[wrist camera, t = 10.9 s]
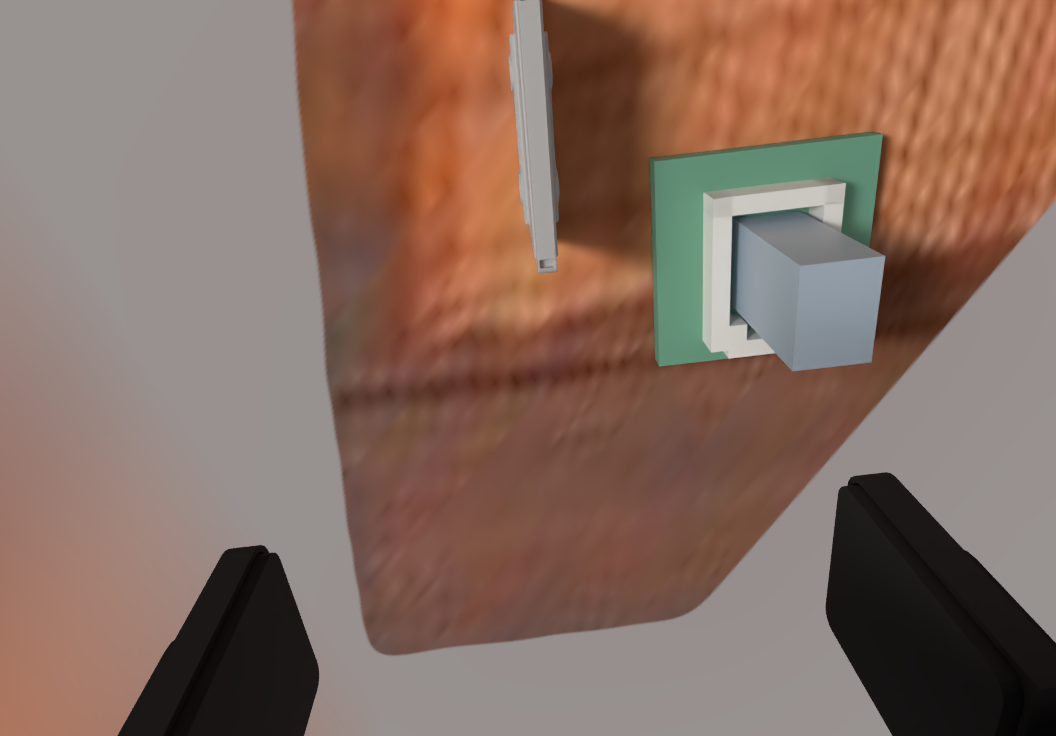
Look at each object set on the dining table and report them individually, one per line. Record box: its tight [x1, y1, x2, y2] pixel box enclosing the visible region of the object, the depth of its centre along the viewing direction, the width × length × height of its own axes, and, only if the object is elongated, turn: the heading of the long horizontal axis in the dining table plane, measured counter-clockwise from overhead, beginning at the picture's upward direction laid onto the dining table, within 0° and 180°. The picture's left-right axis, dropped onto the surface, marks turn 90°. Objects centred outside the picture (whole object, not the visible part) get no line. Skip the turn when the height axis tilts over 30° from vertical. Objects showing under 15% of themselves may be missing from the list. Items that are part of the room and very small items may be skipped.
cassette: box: [509, 0, 559, 273], centre depth 31 cm, size 12×2×8 cm, turn 5°
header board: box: [650, 132, 883, 366], centre depth 37 cm, size 12×12×3 cm
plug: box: [730, 210, 885, 371], centre depth 33 cm, size 6×4×9 cm, turn 6°
